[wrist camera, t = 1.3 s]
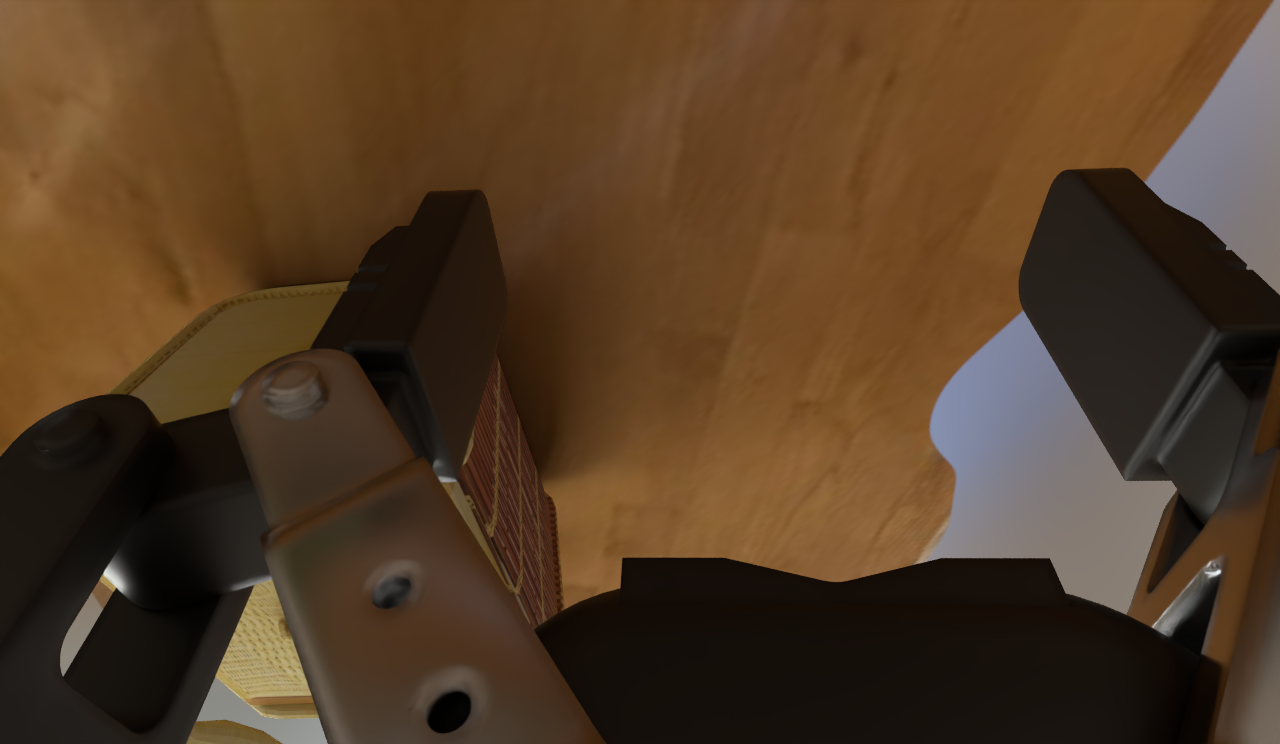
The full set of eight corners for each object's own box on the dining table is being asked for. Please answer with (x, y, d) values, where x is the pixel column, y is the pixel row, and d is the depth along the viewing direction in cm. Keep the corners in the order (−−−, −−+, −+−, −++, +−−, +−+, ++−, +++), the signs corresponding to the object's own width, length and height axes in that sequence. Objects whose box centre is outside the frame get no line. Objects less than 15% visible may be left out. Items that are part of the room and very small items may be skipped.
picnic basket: (167, 269, 51) (-212, 688, 29) (516, 235, 48) (394, 666, 26) (335, 512, 70) (186, 872, 48) (589, 497, 68) (555, 870, 46)
